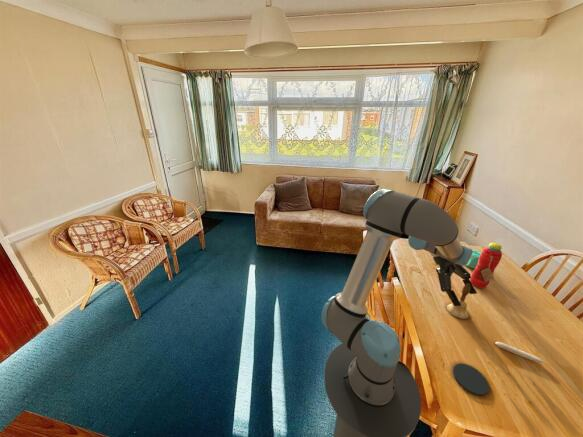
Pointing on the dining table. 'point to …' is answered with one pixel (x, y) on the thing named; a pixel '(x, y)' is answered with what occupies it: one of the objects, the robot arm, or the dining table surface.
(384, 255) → the robot arm
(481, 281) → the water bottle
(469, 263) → the decorative dice
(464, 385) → the corner coaster
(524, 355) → the pen
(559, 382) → the dining table surface
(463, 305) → the hand bell
